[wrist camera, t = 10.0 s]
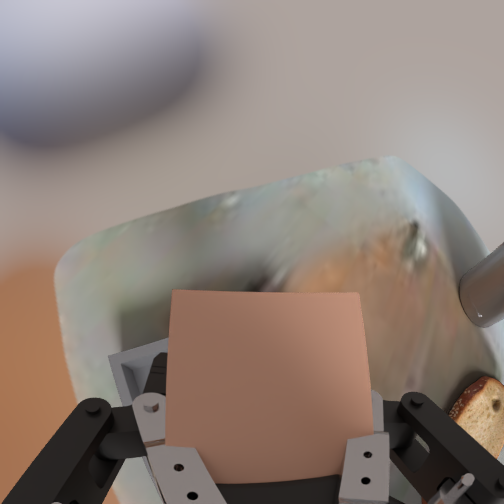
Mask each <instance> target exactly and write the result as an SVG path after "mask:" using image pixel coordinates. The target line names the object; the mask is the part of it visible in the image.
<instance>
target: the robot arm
mask: <svg viewBox="0 0 504 504" xmlns="http://www.w3.org/2000/svg"><path fill="white" fill-rule="evenodd" d="M460 299H461V303H462V306H463V308H464V310H465V312H466V314H467V316H468V317H469V318H470V320H471V321H472V322H473V323H475V324H476V325H478V326H480V327H484V328H485V327H489V326H491V325H493V324H495V323H497V322H499V321H501V320H502V319H504V242H503V243H502V244H501V245H500V246H499V247H498V248H496V249H495V250H494V251H493V252H492V253H491V254H489V255H488V256H487V257H486V258H485V259H483V260H482V261H481V262H480V263H478V264H477V265H476V266H475V267H473V268H472V269H471V270H470V271H468V272H467V273H466V274H465V275H464V276H463V277H462V279H461V282H460ZM167 357H168V353H166V352H160V353H159V354H158V355H157V356H156V357H155V358H154V359H153V362H152V365H151V368H150V372H149V375H148V378H147V381H146V384H145V388H144V391H143V394H141V395H139V396H138V397H136V398H135V399H134V401H133V403H132V405H129V406H124V407H114V408H111V406H110V404H109V403H108V402H107V401H106V400H104V399H101V398H88V399H85V400H83V401H81V402H80V403H79V404H78V405H77V407H76V408H75V409H74V410H73V411H72V413H71V414H70V415H69V416H68V418H67V419H66V420H65V421H64V423H63V424H62V425H61V426H60V428H59V429H58V430H57V431H56V433H55V434H54V435H53V437H52V438H51V439H50V441H49V442H48V443H47V444H46V445H45V447H44V448H43V449H42V451H41V452H40V453H39V455H38V456H37V457H36V458H35V460H34V461H33V462H32V463H31V465H30V466H29V467H28V469H27V470H26V471H25V473H24V474H23V475H22V477H21V478H20V479H19V481H18V482H17V483H16V485H15V486H14V487H13V489H12V490H11V491H10V493H9V494H8V495H7V497H6V498H5V499H4V501H3V502H2V504H102V503H103V501H104V499H105V497H106V495H107V493H108V491H109V489H110V487H111V486H112V484H113V482H114V480H115V478H116V476H117V474H118V472H119V470H120V469H121V467H122V465H123V463H124V461H125V459H126V458H135V457H143V456H146V458H147V461H148V464H149V467H150V470H151V472H152V475H153V478H154V480H155V483H156V486H157V488H158V491H159V494H160V496H161V499H162V501H163V504H405V503H403V502H401V501H399V500H397V499H395V498H393V497H391V496H389V458H390V459H391V460H392V462H393V463H394V464H395V465H396V466H397V468H398V469H399V470H400V471H401V472H402V474H403V475H404V476H405V477H406V478H407V480H408V481H409V482H410V483H411V484H412V486H413V487H414V488H415V489H416V490H417V492H418V493H419V494H420V495H421V496H422V498H423V499H424V500H425V501H426V502H427V503H428V504H504V465H502V464H501V463H500V462H499V461H498V460H497V459H496V458H495V457H494V456H493V455H491V454H490V453H489V452H488V451H487V450H486V449H485V448H484V447H483V446H482V445H480V444H479V443H478V442H477V441H476V440H475V439H474V438H473V437H472V436H471V435H469V434H468V433H467V432H466V431H465V430H464V429H463V428H462V427H461V426H459V425H458V424H457V423H456V422H455V421H454V420H453V419H452V418H451V417H449V416H448V415H447V414H446V413H445V412H444V411H443V410H442V409H441V408H439V407H438V406H437V405H436V404H435V403H434V402H433V401H432V400H430V399H429V398H428V397H427V396H426V395H424V394H422V393H418V392H408V393H406V394H404V395H403V396H402V398H401V401H400V402H399V401H385V400H383V399H382V397H381V395H380V394H378V393H377V392H375V391H373V390H371V398H372V413H373V430H374V435H368V436H363V437H358V438H352V439H347V443H346V447H345V451H344V455H343V459H342V462H341V467H340V473H339V474H334V475H329V476H323V477H316V478H309V479H300V480H291V481H280V482H266V483H241V484H217V483H214V481H213V479H212V478H211V476H210V474H209V472H208V471H207V469H206V467H205V465H204V463H203V462H202V460H201V458H200V456H199V454H198V452H197V450H196V448H190V447H175V446H165V413H166V378H167ZM417 434H418V435H419V436H420V437H421V438H422V439H423V440H424V441H425V442H426V443H427V445H428V446H429V449H430V453H428V452H427V451H426V450H425V449H424V447H423V446H422V445H421V444H420V443H419V442H418V441H417V440H416V439H415V438H416V436H417Z"/></svg>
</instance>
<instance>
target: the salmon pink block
mask: <svg viewBox="0 0 504 504" xmlns="http://www.w3.org/2000/svg"><path fill="white" fill-rule="evenodd" d="M368 435H374V430H373V413H372V398H371V386H370V375H369V365H368V356H367V348H366V339H365V332H364V324H363V317H362V310H361V304H360V297H359V293H281V292H232V291H201V290H177V289H172V300H171V312H170V325H169V339H168V357H167V378H166V413H165V446H175V447H190V448H196V450H197V452H198V454H199V456H200V458H201V460H202V462H203V463H204V465H205V467H206V469H207V471H208V472H209V474H210V476H211V478H212V479H213V481H214V483H217V484H241V483H266V482H280V481H291V480H300V479H309V478H316V477H323V476H329V475H334V474H339V473H340V467H341V462H342V459H343V455H344V451H345V447H346V443H347V439H352V438H358V437H363V436H368Z"/></svg>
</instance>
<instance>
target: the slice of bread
mask: <svg viewBox="0 0 504 504" xmlns="http://www.w3.org/2000/svg"><path fill="white" fill-rule="evenodd" d="M448 416H449V417H451V418H452V419H453V420H454V421H455V422H456V423H457V424H458V425H459V426H461V427H462V428H463V429H464V430H465V431H466V432H467V433H468V434H469V435H471V436H472V437H473V438H474V439H475V440H476V441H477V442H478V443H479V444H480V445H482V446H483V447H484V448H485V449H486V450H487V451H488V452H489V453H490V454H491V455H493V456H494V457H495V458H496V459H497V458H498V456H499V453H500V451H501V449H502V447H503V444H504V385H503V384H502V383H501V382H499V381H498V380H496V379H494V378H491V377H487V376H483V377H481V378H480V379H479V380H477V381H476V382H475V383H473V384H471V385H470V386H469V387H468V388H466V390H465V391H464V392H463V393H462V394H461V396H460V397H459V398H458V400H457V401H456V402H455V404H454V406H453V408H452V410H451V411H450V412H449V414H448ZM422 504H428V503H427V502H426V501H425V500H424V499H423V498H422Z"/></svg>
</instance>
